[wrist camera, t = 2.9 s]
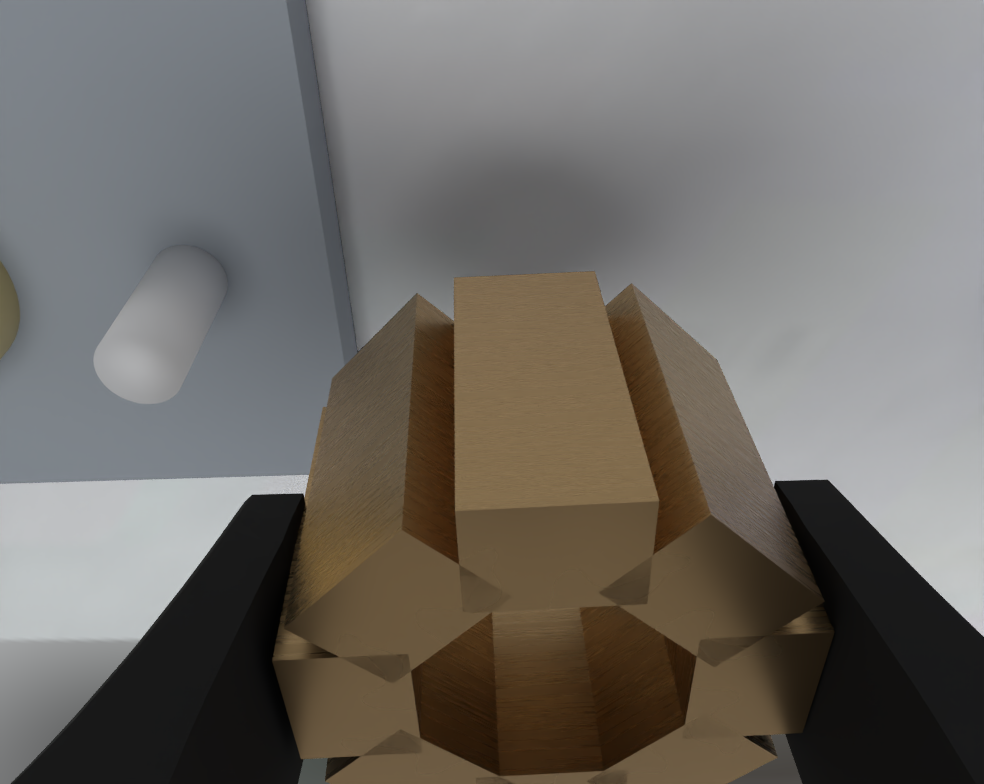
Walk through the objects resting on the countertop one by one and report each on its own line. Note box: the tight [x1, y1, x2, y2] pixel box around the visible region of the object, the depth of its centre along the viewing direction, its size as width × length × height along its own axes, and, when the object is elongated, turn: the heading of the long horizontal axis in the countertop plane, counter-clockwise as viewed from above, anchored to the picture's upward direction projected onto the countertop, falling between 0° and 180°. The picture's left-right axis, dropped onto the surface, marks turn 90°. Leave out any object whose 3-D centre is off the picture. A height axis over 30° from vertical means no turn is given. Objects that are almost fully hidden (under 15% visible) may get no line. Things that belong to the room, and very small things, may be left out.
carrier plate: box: [0, 0, 358, 484], centre depth 15 cm, size 10×10×5 cm
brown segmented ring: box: [272, 271, 835, 784], centre depth 10 cm, size 5×5×4 cm
